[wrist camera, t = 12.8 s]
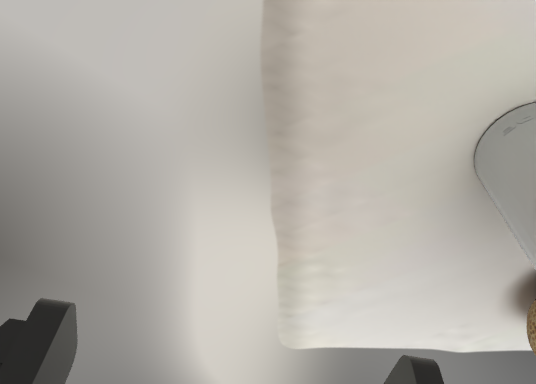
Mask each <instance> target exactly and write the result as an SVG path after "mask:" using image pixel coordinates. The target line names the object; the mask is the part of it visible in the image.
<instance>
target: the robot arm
mask: <svg viewBox="0 0 536 384" xmlns="http://www.w3.org/2000/svg"><path fill="white" fill-rule="evenodd" d="M474 163H475V170H476V173H477V176H478V177H479V179H480V181H481V182H482V184H483V185H484V187H485V189H486V190H487V192H488V194H489V195H490V197H491V198H492V200H493V202H494V204H495V205H496V207H497V208H498V210H499V212H500V213H501V215H502V217H503V218H504V220H505V221H506V223H507V225H508V226H509V228H510V230H511V231H512V233H513V234H514V236H515V238H516V239H517V241H518V242H519V244H520V246H521V247H522V249H523V251H524V252H525V254H526V255H527V257H528V259H529V260H530V262H531V264H532V265H533V267H534V268H535V270H536V103H532V104H528V105H525V106H522V107H519V108H517V109H515V110H513V111H511V112H509V113H507V114H506V115H504V116H503V117H502V118H500V119H499V120H497V121H496V122H495V123H494V124H493V125H492V126H491V127H490V128H489V129H488V130H487V131H486V133H485V134H484V136H483V137H482V138H481V140H480V142H479V144H478V146H477V149H476V153H475V158H474ZM76 349H77V324H76V307H75V304H74V303H70V302H63V301H57V300H50V299H43V298H41V299H40V300H38V301H37V303H36V304H35V306H34V308H33V310H32V311H31V313H30V315H29V317H28V318H27V320H26V321H23V320H16V319H9V320H7V321H6V322H5V323H4V324H3V325H1V326H0V384H65V382H66V379H67V377H68V375H69V372H70V370H71V367H72V364H73V361H74V358H75V354H76ZM384 384H444V382H443V379H442V376H441V373H440V369H439V366H438V365H437V363H436V362H435V361H434V360H432V359H426V358H418V357H412V356H406V355H404V356H402V357H401V358H400V359H399V361H398V362H397V364H396V365H395V367H394V368H393V370H392V371H391V373H390V375H389V376H388V378H387V379H386V381H385V382H384Z"/></svg>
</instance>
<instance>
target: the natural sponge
mask: <svg viewBox="0 0 536 384" xmlns="http://www.w3.org/2000/svg"><path fill="white" fill-rule="evenodd" d="M527 335H528V339H529V343H530V346H531V348H532V350H533V352H534V353H535V355H536V299H535V301H534V302H533V303H532V305H531V307H530V308H529V311H528V315H527Z"/></svg>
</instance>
